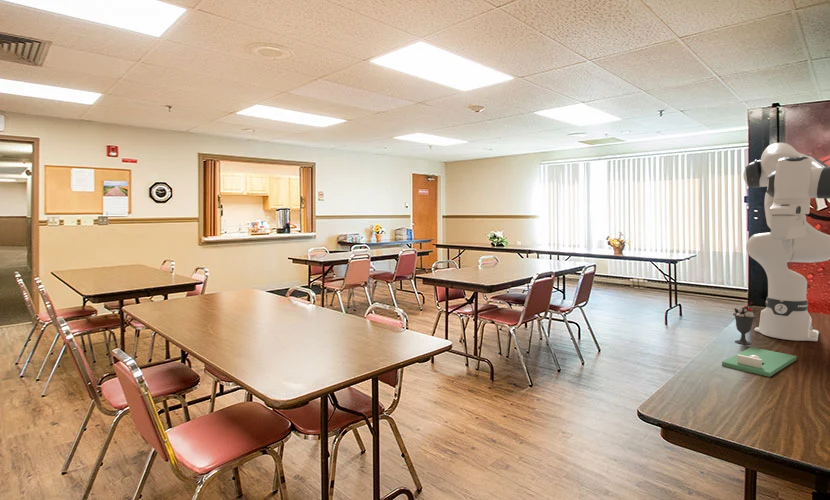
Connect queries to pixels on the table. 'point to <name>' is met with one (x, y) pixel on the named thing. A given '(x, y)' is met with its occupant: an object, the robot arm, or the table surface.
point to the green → (760, 361)
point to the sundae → (744, 322)
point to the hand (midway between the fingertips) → (788, 252)
